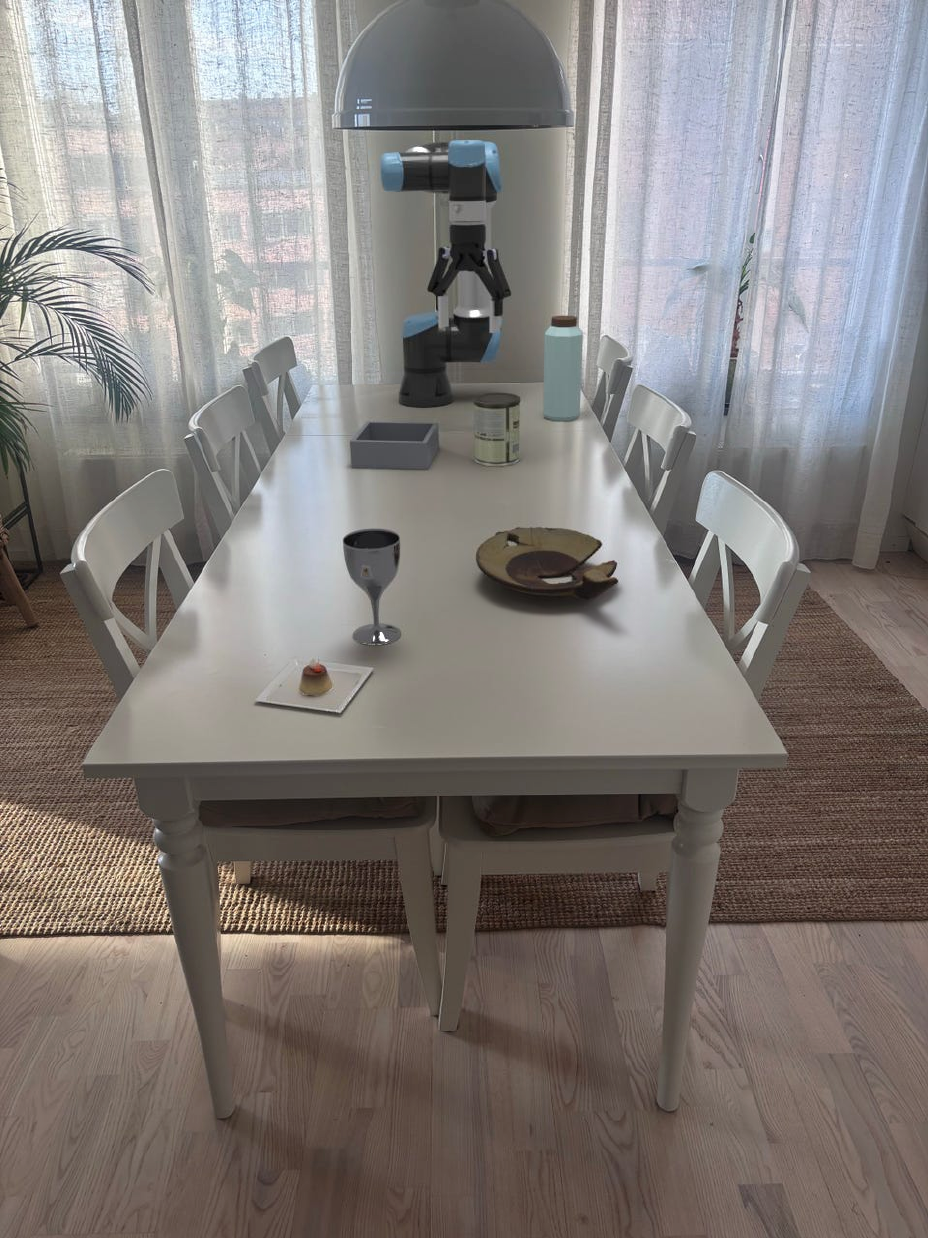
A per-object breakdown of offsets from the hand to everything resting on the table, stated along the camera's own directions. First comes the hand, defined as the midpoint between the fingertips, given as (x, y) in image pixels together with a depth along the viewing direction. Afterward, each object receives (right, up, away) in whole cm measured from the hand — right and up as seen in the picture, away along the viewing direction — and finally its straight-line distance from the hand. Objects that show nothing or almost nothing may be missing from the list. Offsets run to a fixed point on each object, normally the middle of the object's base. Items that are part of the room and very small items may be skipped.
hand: (468, 329), depth 210 cm
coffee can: (+6, -27, +10) cm, 29 cm away
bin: (-16, -25, +13) cm, 33 cm away
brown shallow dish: (+12, -58, -53) cm, 79 cm away
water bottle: (+24, -10, +43) cm, 50 cm away
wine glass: (-14, -65, -67) cm, 94 cm away
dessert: (-21, -72, -81) cm, 110 cm away
